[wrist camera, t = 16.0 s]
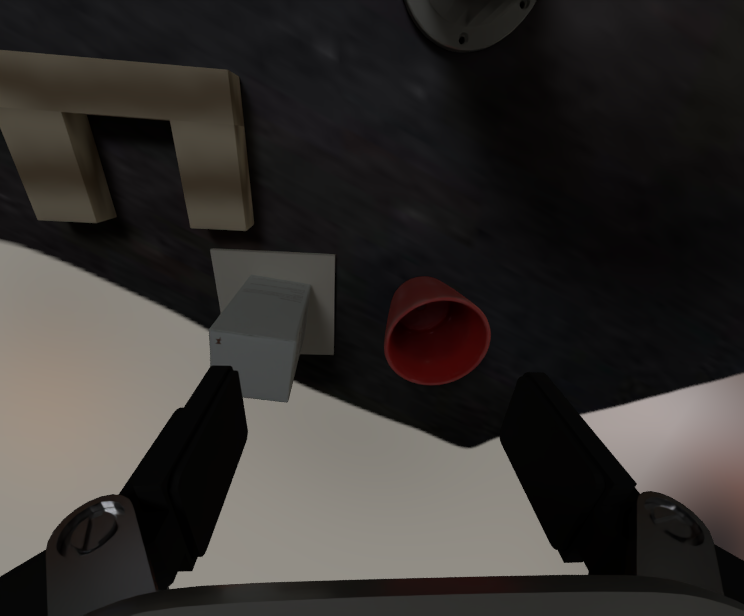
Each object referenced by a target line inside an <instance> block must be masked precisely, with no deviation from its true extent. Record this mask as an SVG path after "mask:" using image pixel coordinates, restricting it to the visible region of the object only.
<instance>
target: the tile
mask: <svg viewBox="0 0 744 616" xmlns="http://www.w3.org/2000/svg"><path fill="white" fill-rule="evenodd" d="M210 252H211V258H212V264H213V269H214V275H215V281H216V287H217V293H218V299H219V305H220V310H221V313H222V312H223V311H224V309H225V308H226V307H227V305H228V304H229V303H230V302H231V300H232V299H233V298H234V296H235V295H236V294H237V292H238V291H239V290H240V289H241V287H242V286H243V285H244V283H245V282H246V281H247V279H248V278H249V277H250V276H251V275H257V276H263V277H269V278H275V279H281V280H287V281H294V282H300V283H305V284H310V285H311V291H310V299H309V307H308V315H307V322H306V330H305V337H304V341H303V344H302V348H301V352H300V354H315V355H334V305H335V254H319V253H298V252H277V251H256V250H235V249H215V248H212V249H211V250H210Z"/></svg>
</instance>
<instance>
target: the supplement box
mask: <svg viewBox="0 0 744 616" xmlns="http://www.w3.org/2000/svg"><path fill="white" fill-rule="evenodd" d="M310 291H311V285H310V284H305V283H300V282H294V281H287V280H281V279H275V278H269V277H263V276H257V275H251V276H250V277H249V278H248V279H247V281H246V282H245V283H244V285H243V286H242V287H241V289H240V290H239V291H238V292H237V294H236V295H235V296H234V298H233V299H232V300H231V302H230V303H229V304H228V305H227V307H226V308H225V309H224V311H223V312H222V313H221V314H220V316H219V317H218V318H217V320H216V321H215V322H214V324H213V325H212V326H211V327H210V329H209V340H210V367H211V366H213V365H219V366H232V368H233V370H237V371H238V373H239V378H240V385H241V391H242V397H244V398H253V399H261V400H270V401H279V402H288V400H289V396H290V392H291V388H292V384H293V380H294V376H295V371H296V367H297V363H298V359H299V356H300V352H301V348H302V344H303V341H304V337H305V330H306V322H307V315H308V307H309V299H310Z"/></svg>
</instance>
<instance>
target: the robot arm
mask: <svg viewBox="0 0 744 616" xmlns="http://www.w3.org/2000/svg"><path fill="white" fill-rule="evenodd" d="M404 2H405V5H406V8H407V10H408V13H409V15H410V16H411V18H412V20H413V21H414V23H415V25H416V26H417V28H418V29H419V30H420V31H421V32H422V33H423V34H424V36H425V37H426V38H428V39H429V40H430V41H432V42H433V43H434V44H436V45H437V46H439V47H441V48H444V49H446V50H449V51H453V52H460V53H467V52H476V51H479V50H482V49H485V48H488V47H490V46H492V45H493V44H495V43H497V42H499V41H500V40H502V39H503V38H504V37H506V36H507V35H508V34H510V33H511V32H512V31H513V30H514V29H515V28H516V27H517V26H518V25H519V24H520V23H521V22H522V21H523V20H524V18H525V17H526V16H527V15H528V13H529V12H530V11H531V9H532V8H533V6H534V4H535V2H536V0H404ZM520 3H521V4H522V9H521V7H520ZM459 38H462V39H463V44H460V43H459ZM247 434H248V429H247V423H246V416H245V410H244V405H243V397H242V391H241V385H240V378H239V373H238V371H237V370H233V368H232V366H219V365H213V366H211V367H210V368H209V370H208V371H207V373H206V374H205V376H204V377H203V379H202V380H201V382H200V384H199V385H198V387H197V388H196V390H195V391H194V393H193V394H192V396H191V397H190V399H189V400H188V402H187V403H186V405H185V407H184V408H179V409H177V410H176V411H175V412H174V413H173V415H172V416H171V418H170V419H169V421H168V422H167V424H166V425H165V427H164V428H163V430H162V431H161V433H160V434H159V436H158V437H157V439H156V440H155V441H154V443H153V444H152V446H151V448H150V449H149V450H148V452H147V453H146V455H145V456H144V458H143V459H142V461H141V462H140V464H139V465H138V467H137V468H136V470H135V471H134V473H133V474H132V476H131V477H130V479H129V480H128V482H127V483H126V484H125V486H124V488H123V489H122V491H121V492H120V494H119V495H114V494H112V495H107V496H101V497H99V498H96V499H94V500H91V501H89V502H87V503H85V504H84V505H82V506H80V507H79V508H77V509H76V510H74V511H73V512H72V513H71V514H69V515H68V516H67V517H66V518H65V519H63V521H62V522H61V523H60V524H59V525H58V526H57V528H56V529H55V530H54V531H53V533H52V535H51V537H50V539H49V541H48V543H47V548H46V550H44V551H43V552H41V553H39V554H38V555H36V556H34V557H33V558H31V559H29V560H27V561H26V562H24V563H23V564H21V565H19V566H17V567H16V568H14V569H12V570H11V571H9V572H8V573H6V574H4V575H2V576H1V577H0V616H744V561H743V560H741V559H739V558H738V557H736V556H734V555H732V554H731V553H729V552H727V551H725V550H723V549H722V548H720V547H718V546H717V545H715V544H714V542H713V539H712V536H711V534H710V531H709V530H708V529H707V527H706V526H705V524H704V523H703V522H702V521H701V520H700V519H699V518H698V517H697V516H696V515H695V514H694V513H693V512H692V511H691V510H690V509H688V508H687V507H686V506H684V505H683V504H681V503H680V502H678V501H676V500H675V499H673V498H671V497H669V496H666V495H664V494H661V493H657V492H652V491H648V492H643V493H641V494H640V493H639V492H638V491H637V490H636V488H635V486H636V482H635V481H634V480H633V479H632V478H631V476H630V475H629V474H628V473H627V471H626V470H625V469H624V468H623V467H622V465H621V464H620V463H619V462H618V461H617V459H616V458H615V457H614V456H613V455H612V453H611V452H610V451H609V450H608V449H607V447H606V446H605V445H604V444H603V443H602V441H601V440H600V439H599V438H598V437H597V436H596V434H595V433H594V432H593V430H592V429H591V428H590V427H589V426H588V424H587V423H586V422H585V421H584V420H583V418H582V417H581V416H580V415H579V414H578V412H577V411H576V410H575V409H574V408H573V406H572V405H571V404H570V403H569V401H568V400H567V399H566V398H565V397H564V395H563V394H562V393H561V392H560V391H559V389H558V388H557V387H556V386H555V385H554V383H553V382H552V381H551V380H550V379H549V377H548V376H547V375H546V374H545V373H531V372H527V373H525V374H524V375H523V377H520V378H519V379H518V381H517V384H516V387H515V390H514V393H513V396H512V398H511V401H510V404H509V407H508V410H507V413H506V416H505V419H504V421H503V424H502V427H501V430H500V441H501V444H502V446H503V448H504V450H505V452H506V454H507V456H508V458H509V460H510V462H511V464H512V467H513V468H514V470H515V472H516V475H517V477H518V479H519V481H520V483H521V485H522V487H523V489H524V491H525V493H526V495H527V497H528V499H529V501H530V503H531V505H532V507H533V509H534V511H535V513H536V515H537V518H538V520H539V522H540V524H541V526H542V528H543V530H544V532H545V534H546V536H547V538H548V540H549V542H550V544H551V546H552V547H553V548H554V549H556V550H558V552H559V554H560V555H561V557H562V559H563V561H564V563H572V562H583V561H584V563H585V565H586V567H587V568H588V570H589V573H588V575H542V576H541V575H540V576H488V577H447V578H407V579H369V580H337V581H304V582H271V583H250V584H230V585H212V586H196V587H187V588H177V589H169V587H168V586H170V585H171V584H172V583H173V582H174V579H175V577H176V574H177V572H178V571H192V570H193V568H194V565H195V562H196V560H197V557H202V556H203V555H204V554H205V552H206V550H207V547H208V545H209V542H210V539H211V536H212V533H213V531H214V528H215V525H216V523H217V520H218V517H219V515H220V512H221V509H222V506H223V504H224V501H225V498H226V495H227V493H228V490H229V487H230V484H231V482H232V478H233V476H234V474H235V470H236V468H237V465H238V462H239V460H240V457H241V454H242V451H243V449H244V446H245V443H246V440H247Z"/></svg>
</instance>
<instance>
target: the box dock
mask: <svg viewBox="0 0 744 616" xmlns="http://www.w3.org/2000/svg"><path fill="white" fill-rule="evenodd" d="M87 115H98V116H112V117H125V118H138V119H151V120H165V121H170V124H171V129H172V134H173V139H174V144H175V150H176V155H177V160H178V165H179V170H180V175H181V181H182V186H183V191H184V196H185V201H186V207H187V212H188V217H189V222H190V227H191V228H200V229H219V230H238V231H247V230H248V229H249V228H250V227H252V226H253V225H254V217H253V207H252V197H251V188H250V178H249V168H248V158H247V148H246V139H245V129H244V119H243V109H242V100H241V90H240V80H239V76H237V75H235V74H234V73H232V72H230V71H229V70H223V69H211V68H200V67H189V66H177V65H166V64H154V63H143V62H131V61H120V60H109V59H97V58H86V57H74V56H63V55H51V54H40V53H29V52H17V51H6V50H0V128H1V131H2V133H3V136H4V138H5V141H6V143H7V145H8V148H9V150H10V153H11V155H12V158H13V160H14V163H15V165H16V168H17V170H18V172H19V175H20V177H21V180H22V182H23V185H24V187H25V190H26V192H27V195H28V197H29V200H30V202H31V204H32V207H33V209H34V212H35V214H36V217H37V219H38V220H47V221H66V222H85V223H99V222H102V221H106V220H109V219H112V218H115V217H117V215H116V212H115V209H114V205H113V202H112V198H111V195H110V192H109V188H108V185H107V181H106V178H105V175H104V171H103V168H102V164H101V161H100V158H99V154H98V151H97V147H96V144H95V141H94V137H93V134H92V130H91V127H90V124H89V120H88V117H87Z"/></svg>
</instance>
